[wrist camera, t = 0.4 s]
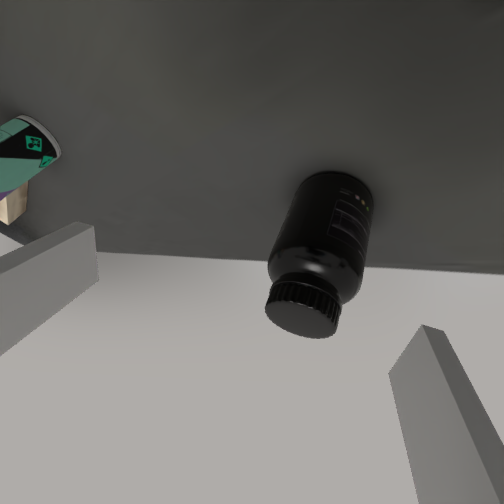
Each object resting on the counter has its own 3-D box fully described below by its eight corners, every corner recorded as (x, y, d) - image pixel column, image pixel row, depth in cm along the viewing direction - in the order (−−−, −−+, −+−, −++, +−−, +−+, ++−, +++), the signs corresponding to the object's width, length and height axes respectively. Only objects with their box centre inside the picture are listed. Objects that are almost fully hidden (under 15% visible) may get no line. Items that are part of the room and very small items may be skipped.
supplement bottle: (329, 238, 29) (296, 348, 22) (281, 194, 27) (230, 301, 20) (392, 211, 23) (376, 345, 17) (340, 153, 21) (297, 280, 15)
